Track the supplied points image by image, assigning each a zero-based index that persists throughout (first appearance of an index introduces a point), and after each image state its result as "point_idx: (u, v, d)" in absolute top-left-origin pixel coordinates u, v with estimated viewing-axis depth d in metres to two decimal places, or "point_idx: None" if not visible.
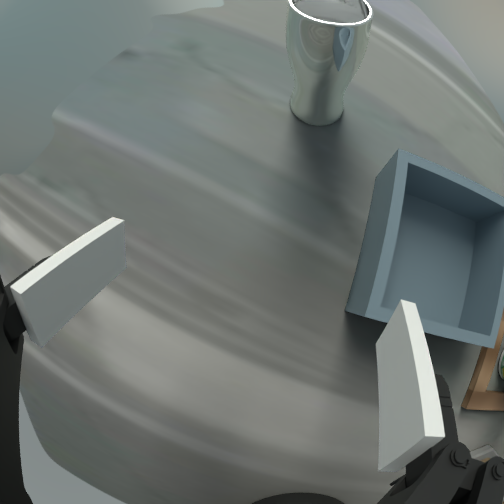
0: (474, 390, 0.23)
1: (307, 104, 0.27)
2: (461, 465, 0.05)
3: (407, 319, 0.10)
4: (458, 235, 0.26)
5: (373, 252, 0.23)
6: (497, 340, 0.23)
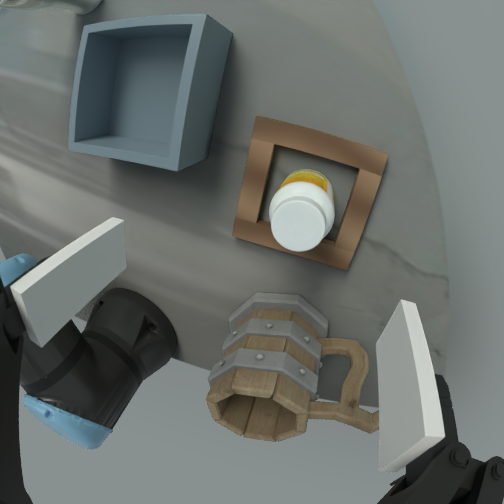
0: (237, 217, 0.31)
1: (67, 9, 0.21)
2: (461, 465, 0.05)
3: (407, 319, 0.10)
4: None
5: None
6: (260, 164, 0.28)
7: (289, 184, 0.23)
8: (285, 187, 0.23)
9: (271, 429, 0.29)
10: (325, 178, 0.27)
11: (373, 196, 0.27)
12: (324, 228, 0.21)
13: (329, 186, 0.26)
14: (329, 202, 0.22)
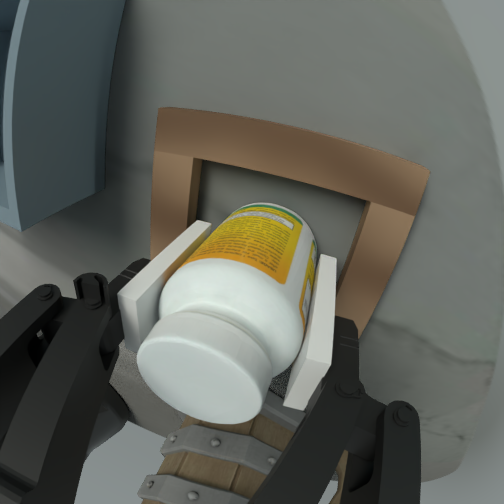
0: None
1: None
2: (353, 396, 0.07)
3: (321, 268, 0.12)
4: None
5: None
6: (173, 198, 0.15)
7: (189, 265, 0.09)
8: (179, 274, 0.09)
9: None
10: (298, 222, 0.14)
11: (395, 256, 0.13)
12: (260, 400, 0.07)
13: (304, 244, 0.13)
14: (288, 313, 0.09)
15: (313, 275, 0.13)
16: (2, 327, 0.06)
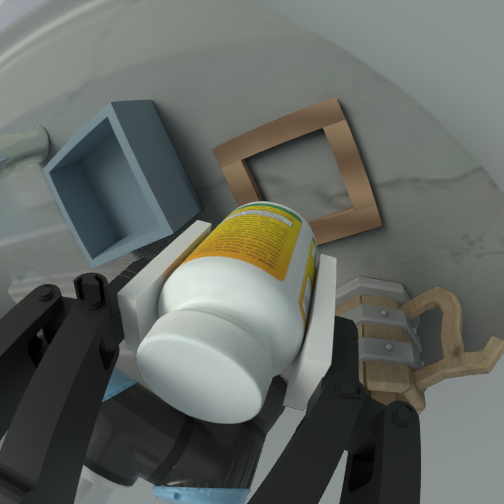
0: None
1: (28, 164, 0.33)
2: (353, 396, 0.07)
3: (321, 268, 0.12)
4: None
5: None
6: (242, 184, 0.29)
7: (188, 264, 0.09)
8: (178, 273, 0.09)
9: None
10: (297, 220, 0.14)
11: (352, 142, 0.24)
12: (260, 398, 0.07)
13: (303, 241, 0.12)
14: (287, 309, 0.09)
15: (313, 272, 0.13)
16: (2, 327, 0.06)
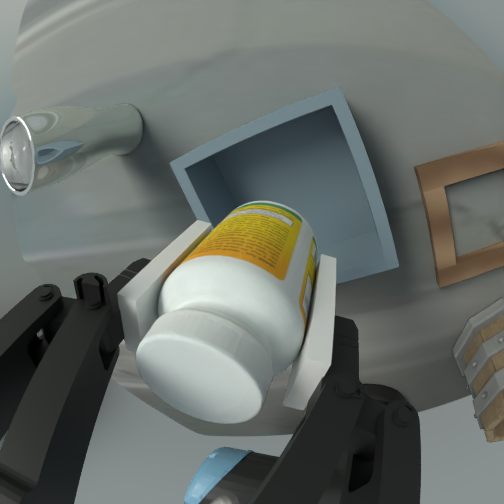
0: (439, 269, 0.26)
1: None
2: (353, 396, 0.07)
3: (321, 268, 0.12)
4: (315, 140, 0.24)
5: None
6: (441, 211, 0.23)
7: (187, 263, 0.09)
8: (178, 272, 0.09)
9: None
10: (298, 219, 0.14)
11: None
12: (260, 397, 0.07)
13: (303, 241, 0.12)
14: (287, 308, 0.09)
15: (314, 272, 0.13)
16: (2, 327, 0.06)
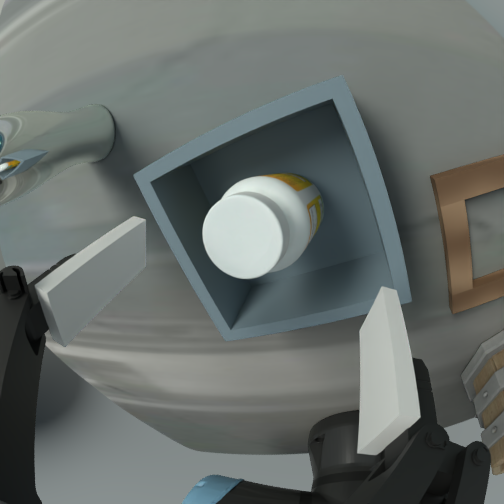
0: (453, 294, 0.22)
1: (78, 163, 0.23)
2: (439, 447, 0.05)
3: (387, 304, 0.11)
4: (312, 143, 0.20)
5: None
6: (459, 229, 0.19)
7: (240, 181, 0.16)
8: (234, 185, 0.16)
9: None
10: (309, 182, 0.20)
11: None
12: (281, 239, 0.13)
13: (312, 190, 0.18)
14: (299, 203, 0.15)
15: (319, 211, 0.18)
16: None
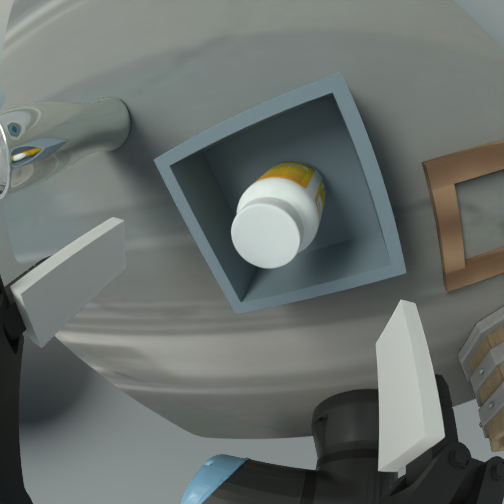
0: (447, 272, 0.24)
1: None
2: (461, 465, 0.05)
3: (407, 319, 0.10)
4: (315, 133, 0.22)
5: None
6: (450, 211, 0.21)
7: (255, 183, 0.18)
8: (250, 187, 0.18)
9: None
10: (312, 169, 0.22)
11: None
12: (298, 237, 0.16)
13: (316, 178, 0.21)
14: (308, 200, 0.17)
15: (323, 196, 0.21)
16: None
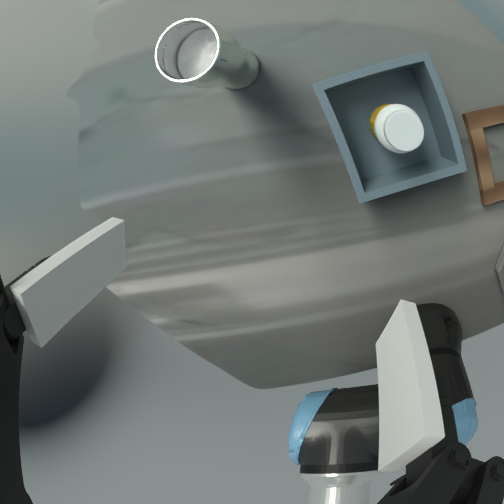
0: (483, 190, 0.30)
1: (232, 84, 0.32)
2: (461, 465, 0.05)
3: (407, 319, 0.10)
4: (400, 89, 0.29)
5: None
6: (482, 145, 0.28)
7: (386, 106, 0.25)
8: (384, 108, 0.25)
9: None
10: None
11: None
12: (423, 130, 0.22)
13: None
14: (417, 115, 0.24)
15: None
16: None
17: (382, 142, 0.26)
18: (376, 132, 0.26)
